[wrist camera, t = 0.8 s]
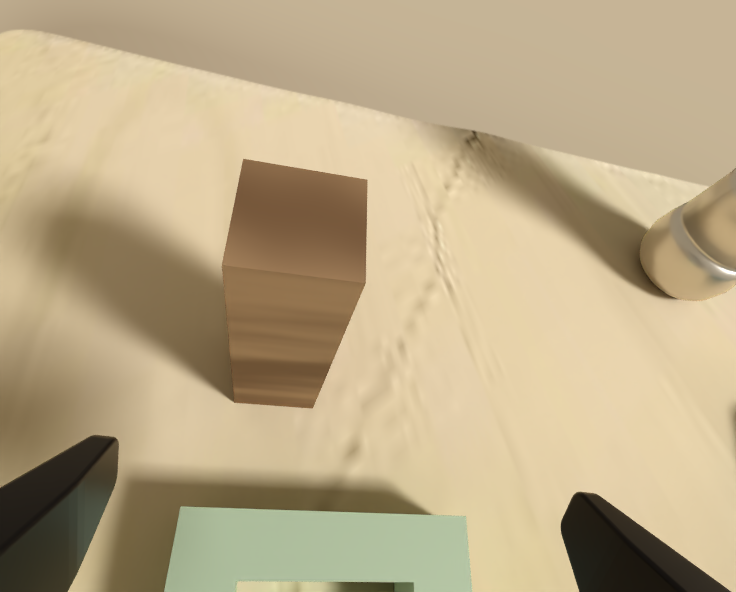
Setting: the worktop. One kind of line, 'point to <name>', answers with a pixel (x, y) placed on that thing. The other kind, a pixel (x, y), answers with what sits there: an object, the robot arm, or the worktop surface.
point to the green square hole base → (317, 549)
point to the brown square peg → (291, 279)
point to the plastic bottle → (695, 245)
